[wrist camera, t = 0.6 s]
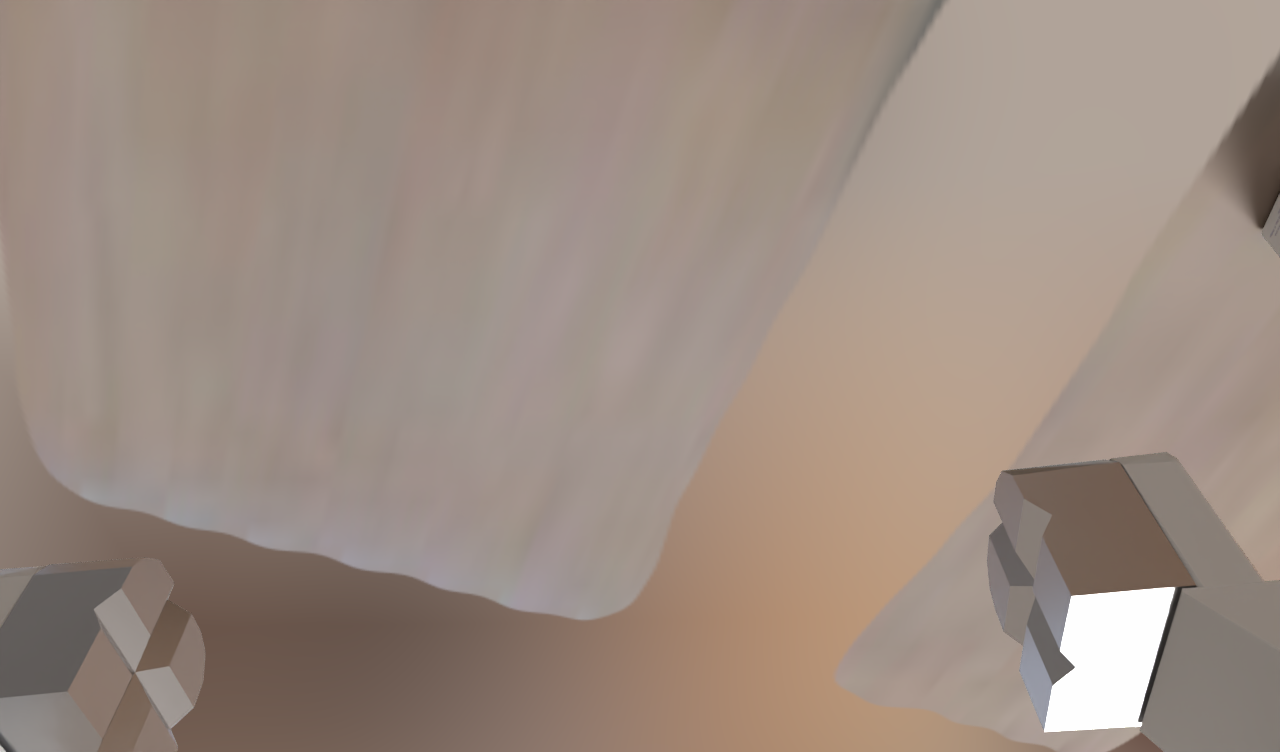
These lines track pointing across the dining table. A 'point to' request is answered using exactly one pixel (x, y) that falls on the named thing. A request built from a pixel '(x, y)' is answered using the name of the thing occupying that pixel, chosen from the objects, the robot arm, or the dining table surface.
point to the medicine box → (1273, 227)
